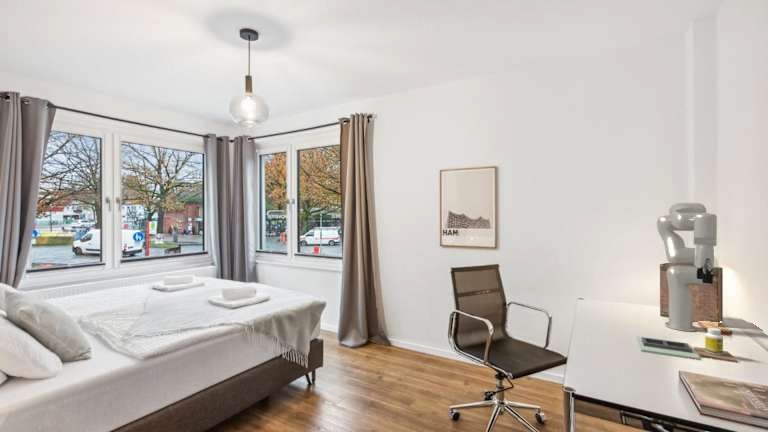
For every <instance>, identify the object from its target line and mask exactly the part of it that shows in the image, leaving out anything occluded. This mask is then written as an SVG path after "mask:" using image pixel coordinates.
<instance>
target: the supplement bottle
mask: <svg viewBox="0 0 768 432" xmlns="http://www.w3.org/2000/svg"><path fill="white" fill-rule="evenodd" d="M721 334H722V331H721V329H719V328H717V327H716V328H715V327H707V332H706V333H705V335H704V337H705V338H704V348H705V351H706V352H707V353H710V354H714V355H722V354H723V351H724V349H723V348H724V337H723V335H721Z"/></svg>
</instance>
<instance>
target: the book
mask: <svg viewBox="0 0 768 432" xmlns="http://www.w3.org/2000/svg"><path fill="white" fill-rule="evenodd" d="M672 266H679V265H672V264H670V263H669V262H666V263H660V264H659V302H660V303H659V305H660V307H659V316H660V317H663V318H669V287H668V280H667V274H666V272H667V269H668V268H669V267H672ZM690 267H694V266H690ZM712 272H713V283H712V284H709V285H707V286H694V285H686V287H687V288H688V289H689V290H690V291H691V293H692V296H693V323H695V322H698V321H710V322H718V323H719V322H720V321H722V322H723V319H724V318H723V316H724V315H723V310H724V308H723V307H724V305H723V303H724V302H723V301H724V300H723V299H724V298H723V297H724V296H723V292H724V290H723V285H724V284H723V282H724V281H723V280H724V278H723V277H724V276H723V272H724V271H723V267H720V266H714V268H713V269H712ZM723 323H724V322H723Z"/></svg>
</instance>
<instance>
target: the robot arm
mask: <svg viewBox="0 0 768 432" xmlns="http://www.w3.org/2000/svg"><path fill="white" fill-rule="evenodd" d="M668 213H669V214H668V215H667V214H666V215H662V216H659V217H658V219H657V221H656V227H657V232H658V234H659V236H660V237H661V240H662V241H663V245H664V249H665V254H666V259H667V263H670V264H672V265H679V266H672V267H669V268H668V269H667V272H666V274H667V280H668V287H669V317H668V321H667V322H665V323H664V327H667V328H668V329H673V330H678V331H682V332H683V331H685V332H696V331H697V330H698V327H696V326H695V325H693V323H694V322H693V296H692V293H691V291H690V290H689V289H688V288H687V287H686V285H694V286H707V285H709V284H712V283H713V272H712V269H713V268H714V267H715V256H714V255H715V251H714V247H717V246H718V245H717V240H718V239H717V238H718V237H717V235H718V233H717V231H718V218H717V217H718V216H717V214H715V213H709V212H707V208H706V206H705V205H704V204H702V203H699V202H681V203H679V202H678V203H675V204H672V205H671V206H670V207H669V209H668ZM676 231H677V232H679V231H680V232H682V231H683V232H693V245H694V246H695V247H687V246H686V244H685V241H684V238H682V236H680V234H678V233H676ZM690 266H694V267H690Z"/></svg>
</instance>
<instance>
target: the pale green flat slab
mask: <svg viewBox="0 0 768 432" xmlns="http://www.w3.org/2000/svg"><path fill="white" fill-rule="evenodd" d="M635 339H636V341H637V343H638V347H639V349H640V352H642V353H643V352H644V353H649V354H650V353H651V354H658V355H663V356H670V357H676V358H682V359H688V358H689V359H690V360H695V359H696V360H695V361H700V360H701V357H700V356H699V355H698V354H697V352H696V351H695V350H694V348H693V347H692V346H691V345H690V344H689V343H688V342H682V341H674V340H666V339H659V338H652V337H644V336H639V335H637V336H636V337H635Z"/></svg>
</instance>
